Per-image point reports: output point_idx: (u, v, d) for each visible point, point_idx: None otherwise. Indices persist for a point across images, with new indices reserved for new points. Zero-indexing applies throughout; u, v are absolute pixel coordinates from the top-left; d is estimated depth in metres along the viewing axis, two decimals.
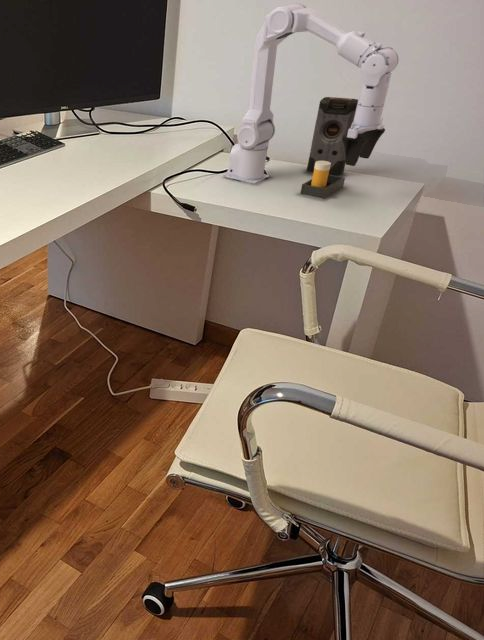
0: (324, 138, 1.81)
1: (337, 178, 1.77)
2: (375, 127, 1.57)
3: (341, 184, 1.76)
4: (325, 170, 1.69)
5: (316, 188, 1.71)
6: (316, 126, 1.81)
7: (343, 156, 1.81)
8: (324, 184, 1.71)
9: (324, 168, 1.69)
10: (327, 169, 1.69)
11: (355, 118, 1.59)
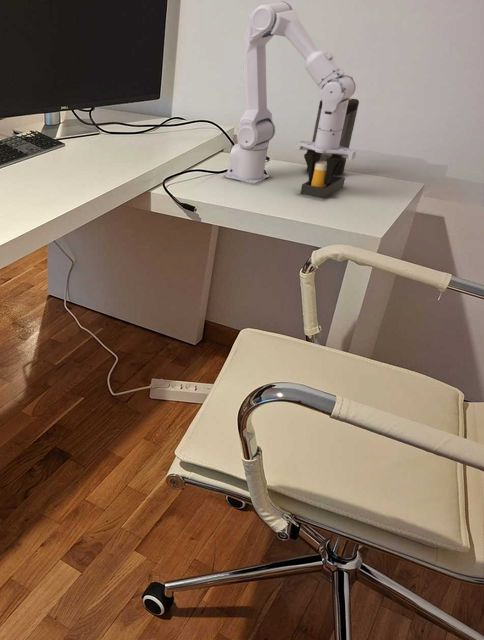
0: None
1: (337, 178, 1.77)
2: (315, 148, 1.67)
3: (341, 184, 1.76)
4: (325, 170, 1.69)
5: (316, 188, 1.71)
6: (316, 126, 1.81)
7: None
8: (324, 184, 1.71)
9: (324, 168, 1.69)
10: None
11: None
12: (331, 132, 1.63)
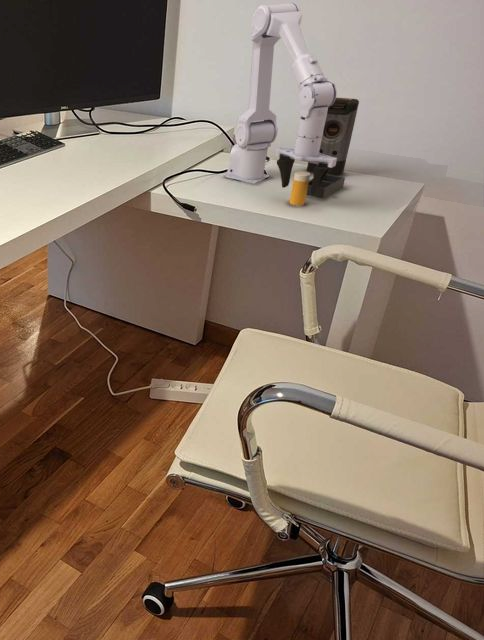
0: (324, 138, 1.81)
1: (337, 178, 1.77)
2: (295, 156, 1.62)
3: (341, 184, 1.76)
4: (304, 181, 1.64)
5: None
6: None
7: (343, 156, 1.81)
8: (304, 195, 1.66)
9: (303, 179, 1.64)
10: (307, 180, 1.64)
11: None
12: (310, 139, 1.58)
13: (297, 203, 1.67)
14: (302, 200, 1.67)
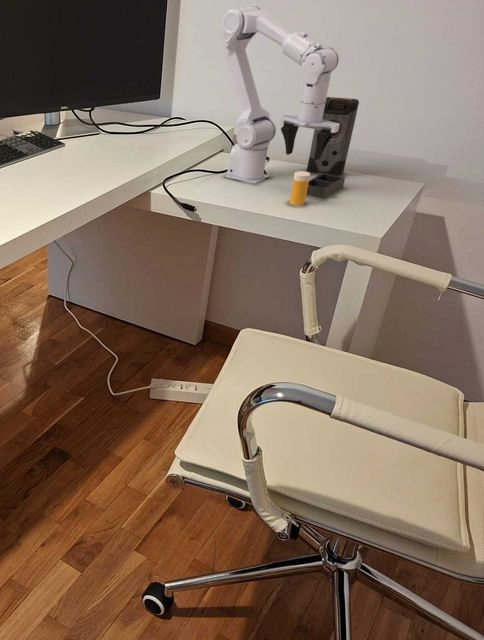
0: None
1: (337, 178, 1.77)
2: (299, 122, 1.66)
3: (341, 184, 1.76)
4: (304, 181, 1.64)
5: (316, 188, 1.71)
6: None
7: (343, 156, 1.81)
8: (304, 195, 1.66)
9: (303, 179, 1.64)
10: (307, 180, 1.64)
11: None
12: (314, 105, 1.62)
13: (297, 203, 1.67)
14: (302, 200, 1.67)
